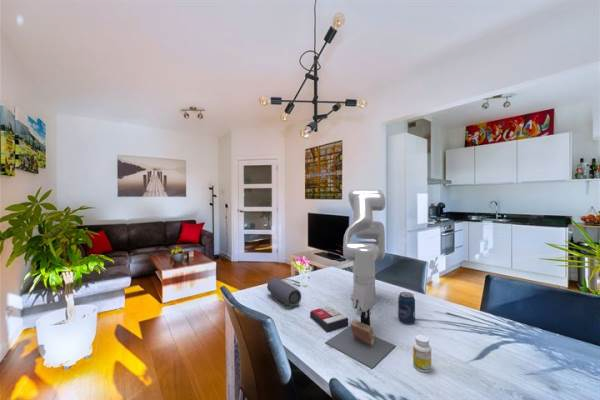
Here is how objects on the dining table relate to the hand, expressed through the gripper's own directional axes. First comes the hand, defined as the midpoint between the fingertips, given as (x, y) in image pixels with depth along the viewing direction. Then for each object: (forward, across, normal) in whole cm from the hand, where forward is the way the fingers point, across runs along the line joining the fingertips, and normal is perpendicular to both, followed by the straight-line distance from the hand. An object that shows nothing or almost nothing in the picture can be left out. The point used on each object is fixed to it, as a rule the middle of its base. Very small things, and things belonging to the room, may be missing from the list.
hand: (365, 325), depth 96 cm
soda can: (+6, -26, +5) cm, 27 cm away
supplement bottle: (+6, 0, +21) cm, 22 cm away
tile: (+5, 0, 0) cm, 5 cm away
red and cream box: (+6, -2, -20) cm, 21 cm away
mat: (+6, +4, 0) cm, 7 cm away
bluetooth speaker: (+6, -2, -51) cm, 51 cm away
